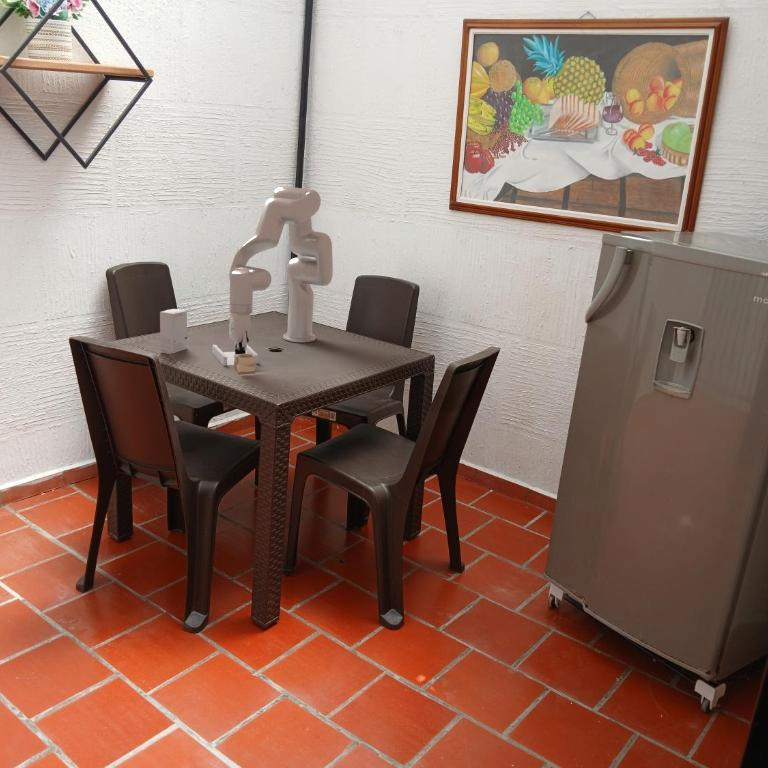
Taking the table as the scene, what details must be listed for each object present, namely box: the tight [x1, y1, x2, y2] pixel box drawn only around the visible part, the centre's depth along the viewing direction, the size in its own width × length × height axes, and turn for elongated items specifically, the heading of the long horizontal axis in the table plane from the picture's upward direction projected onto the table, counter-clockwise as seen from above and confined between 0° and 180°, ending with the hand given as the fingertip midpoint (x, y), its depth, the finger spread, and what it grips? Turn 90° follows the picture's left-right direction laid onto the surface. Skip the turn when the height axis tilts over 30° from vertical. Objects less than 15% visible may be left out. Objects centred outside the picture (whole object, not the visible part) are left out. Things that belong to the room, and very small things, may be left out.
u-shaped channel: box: [212, 344, 259, 366], centre depth 280 cm, size 15×12×4 cm
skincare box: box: [159, 308, 188, 356], centre depth 283 cm, size 8×6×15 cm
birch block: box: [233, 353, 256, 376], centre depth 269 cm, size 6×6×6 cm
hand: (240, 360), depth 275 cm, fingers closed
